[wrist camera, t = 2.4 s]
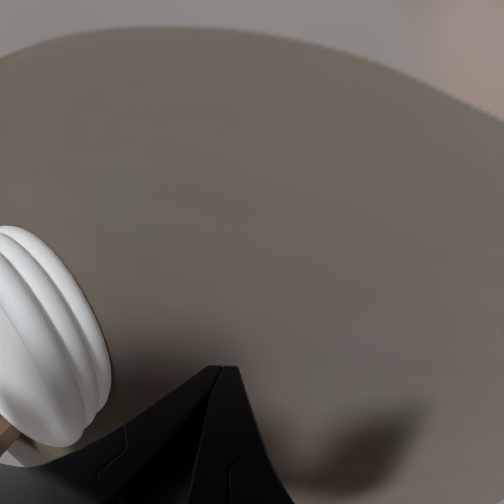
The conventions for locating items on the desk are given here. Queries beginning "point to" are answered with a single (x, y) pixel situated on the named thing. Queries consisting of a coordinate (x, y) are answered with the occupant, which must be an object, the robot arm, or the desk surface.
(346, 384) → the desk surface
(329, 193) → the desk surface
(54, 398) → the coaster
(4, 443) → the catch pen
